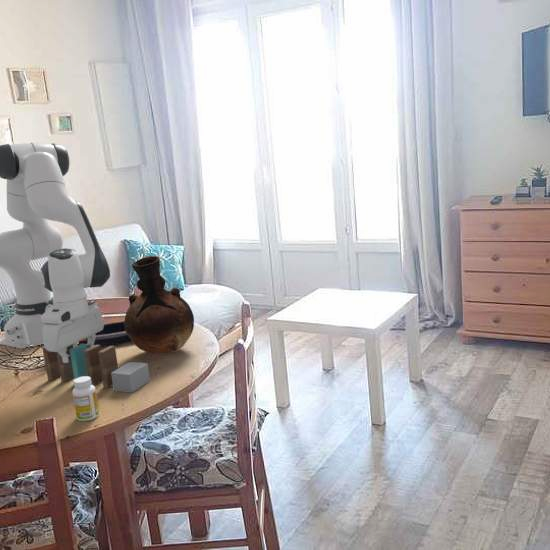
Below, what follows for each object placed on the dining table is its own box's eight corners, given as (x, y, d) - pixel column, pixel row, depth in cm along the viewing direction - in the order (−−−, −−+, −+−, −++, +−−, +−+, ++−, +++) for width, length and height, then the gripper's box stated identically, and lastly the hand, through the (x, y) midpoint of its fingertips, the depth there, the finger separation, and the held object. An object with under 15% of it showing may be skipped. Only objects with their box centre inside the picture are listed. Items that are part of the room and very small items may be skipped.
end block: (113, 390, 169) (111, 372, 168) (132, 379, 176) (129, 362, 175) (131, 392, 166) (129, 374, 165) (149, 380, 173) (147, 363, 172)
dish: (157, 341, 208) (155, 326, 207) (60, 354, 203) (58, 339, 202) (156, 327, 223) (154, 314, 222) (66, 340, 218) (64, 326, 217)
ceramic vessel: (201, 340, 204) (190, 249, 197) (192, 359, 187) (180, 260, 180) (137, 345, 205) (124, 254, 198) (122, 364, 188) (108, 266, 181)
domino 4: (89, 385, 174) (83, 350, 172) (101, 378, 179) (95, 344, 176) (93, 385, 173) (88, 351, 171) (105, 378, 178) (100, 345, 176)
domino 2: (61, 381, 178) (55, 348, 176) (73, 375, 183) (68, 342, 181) (65, 382, 178) (60, 348, 175) (78, 375, 182) (72, 342, 180)
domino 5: (103, 386, 172) (98, 352, 170) (115, 379, 176) (110, 345, 174) (108, 387, 171) (103, 352, 169) (120, 380, 176) (114, 346, 174)
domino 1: (48, 380, 180) (42, 347, 178) (60, 373, 185) (54, 341, 183) (52, 380, 180) (46, 347, 178) (64, 374, 184) (59, 341, 182)
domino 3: (91, 377, 180) (86, 343, 178) (79, 383, 176) (74, 349, 173) (87, 376, 181) (82, 343, 178) (75, 383, 176) (69, 349, 174)
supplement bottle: (91, 410, 158) (85, 373, 155) (104, 414, 154) (98, 377, 152) (72, 418, 154) (65, 381, 151) (85, 423, 150) (78, 385, 148)
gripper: (88, 297, 184) (95, 342, 187) (35, 318, 166) (44, 368, 169) (105, 298, 181) (112, 344, 184) (53, 320, 163) (62, 370, 166)
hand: (79, 356), depth 177 cm, fingers open, 8 cm apart
